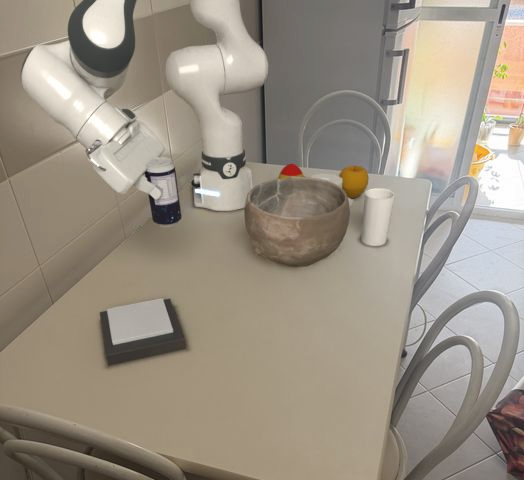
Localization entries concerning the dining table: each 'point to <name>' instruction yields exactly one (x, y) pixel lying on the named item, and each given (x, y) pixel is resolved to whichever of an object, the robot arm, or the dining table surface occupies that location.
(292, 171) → the decorative egg
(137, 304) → the scale
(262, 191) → the bowl
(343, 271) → the dining table surface
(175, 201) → the beverage can
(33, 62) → the robot arm
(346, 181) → the apple
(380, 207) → the mug
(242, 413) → the dining table surface
